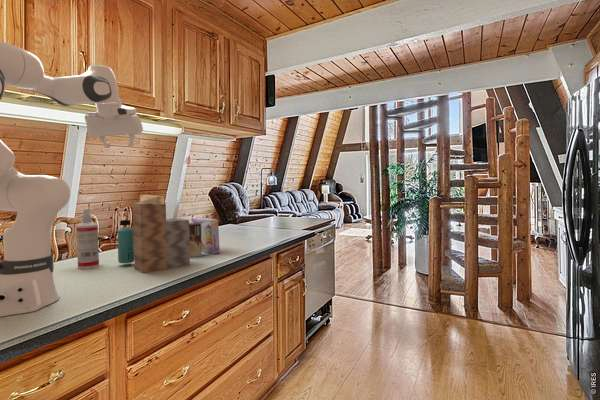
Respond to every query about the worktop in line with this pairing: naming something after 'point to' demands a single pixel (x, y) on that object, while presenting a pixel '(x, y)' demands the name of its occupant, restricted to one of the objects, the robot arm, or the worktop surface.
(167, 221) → the stepped stand
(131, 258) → the beverage bottle
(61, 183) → the robot arm
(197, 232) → the coffee box
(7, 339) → the worktop surface
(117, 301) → the worktop surface
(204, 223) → the cake pan box
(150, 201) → the rod
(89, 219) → the spray bottle
